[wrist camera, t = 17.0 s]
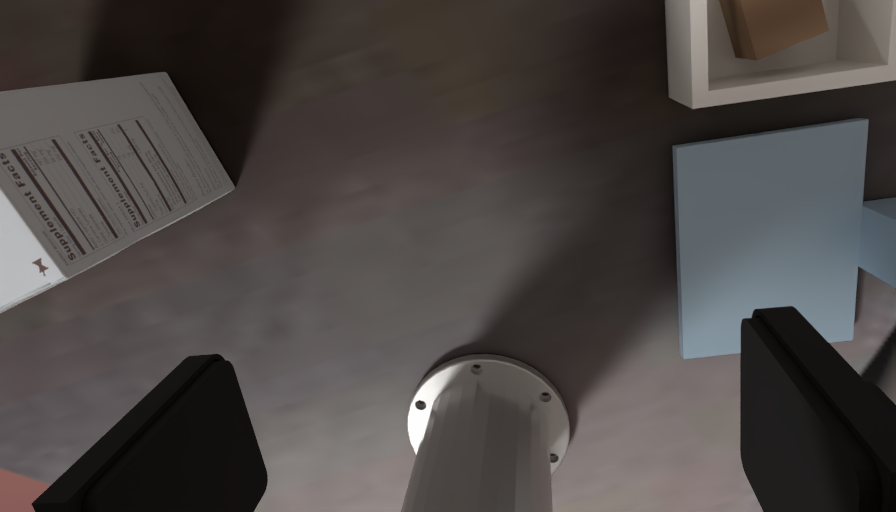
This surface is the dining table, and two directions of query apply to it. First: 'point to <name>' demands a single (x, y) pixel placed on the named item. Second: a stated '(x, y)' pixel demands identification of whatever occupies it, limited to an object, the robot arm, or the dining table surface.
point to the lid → (776, 231)
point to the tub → (777, 54)
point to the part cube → (771, 24)
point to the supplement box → (94, 175)
